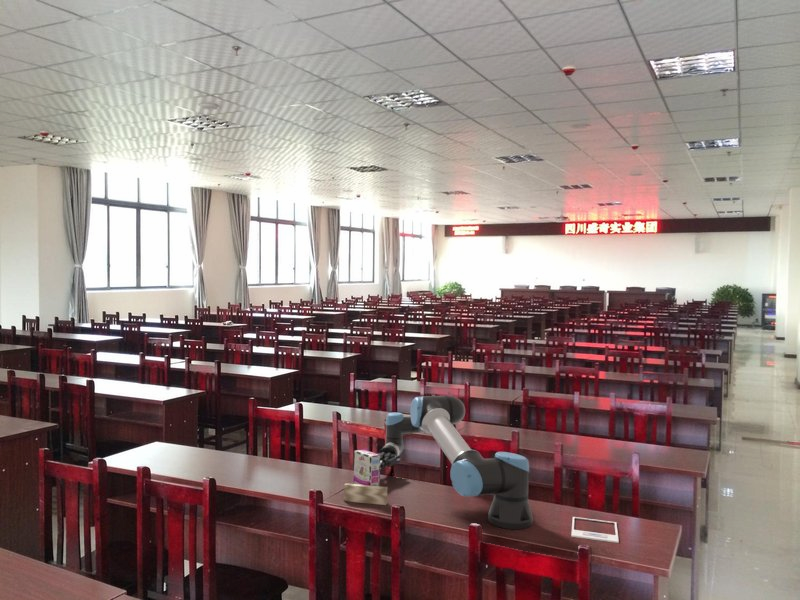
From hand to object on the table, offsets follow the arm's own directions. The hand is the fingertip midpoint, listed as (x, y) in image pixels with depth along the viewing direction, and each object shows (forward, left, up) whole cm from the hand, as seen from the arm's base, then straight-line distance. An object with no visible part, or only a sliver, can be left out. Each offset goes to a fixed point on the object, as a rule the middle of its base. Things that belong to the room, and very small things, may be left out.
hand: (376, 468), depth 252 cm
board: (0, +18, -8) cm, 20 cm away
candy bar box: (+1, +10, -8) cm, 13 cm away
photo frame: (-81, +23, -8) cm, 85 cm away
